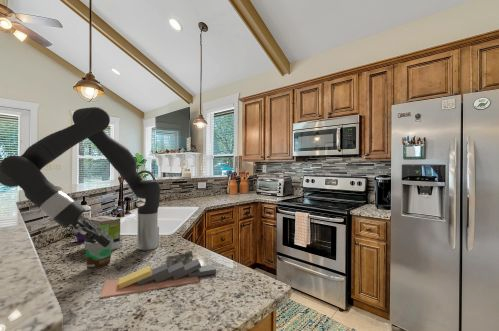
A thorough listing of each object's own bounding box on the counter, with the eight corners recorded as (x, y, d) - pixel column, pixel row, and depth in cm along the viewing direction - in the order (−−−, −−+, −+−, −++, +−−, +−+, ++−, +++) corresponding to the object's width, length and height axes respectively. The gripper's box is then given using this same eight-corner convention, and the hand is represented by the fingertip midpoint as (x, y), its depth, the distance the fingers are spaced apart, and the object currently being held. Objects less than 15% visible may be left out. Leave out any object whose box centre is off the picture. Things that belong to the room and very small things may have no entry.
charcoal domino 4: (188, 273, 90) (216, 269, 94) (186, 268, 94) (212, 264, 98) (188, 278, 90) (216, 273, 93) (186, 272, 94) (212, 268, 98)
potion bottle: (75, 239, 138) (75, 217, 138) (93, 238, 141) (93, 216, 141) (71, 244, 130) (71, 220, 130) (91, 242, 133) (91, 219, 133)
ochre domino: (118, 284, 81) (150, 270, 85) (119, 278, 86) (149, 265, 89) (119, 289, 81) (151, 275, 85) (121, 282, 86) (151, 269, 90)
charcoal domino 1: (137, 281, 83) (167, 268, 87) (137, 275, 88) (166, 263, 92) (138, 286, 83) (168, 272, 87) (138, 279, 88) (167, 267, 92)
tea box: (120, 248, 124) (121, 217, 124) (99, 253, 116) (100, 221, 116) (104, 243, 132) (104, 214, 133) (83, 248, 124) (84, 217, 124)
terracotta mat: (99, 298, 76) (99, 297, 76) (105, 281, 87) (105, 280, 87) (199, 281, 88) (199, 280, 88) (193, 268, 99) (193, 267, 99)
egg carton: (193, 259, 109) (193, 250, 109) (192, 266, 102) (192, 256, 102) (167, 261, 108) (167, 251, 108) (164, 267, 100) (164, 257, 100)
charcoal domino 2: (154, 278, 85) (183, 266, 89) (154, 273, 90) (181, 261, 94) (156, 283, 86) (185, 270, 89) (155, 277, 90) (183, 265, 94)
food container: (97, 271, 96) (97, 245, 96) (83, 270, 97) (84, 244, 97) (120, 259, 108) (120, 236, 108) (107, 258, 109) (108, 235, 109)
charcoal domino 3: (172, 276, 88) (200, 263, 91) (171, 270, 92) (197, 258, 96) (174, 280, 88) (201, 267, 91) (172, 274, 92) (198, 262, 96)
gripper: (67, 202, 73) (115, 240, 77) (78, 197, 85) (119, 230, 89) (44, 222, 70) (95, 260, 75) (59, 214, 83) (101, 247, 87)
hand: (108, 244), depth 82 cm, fingers closed
